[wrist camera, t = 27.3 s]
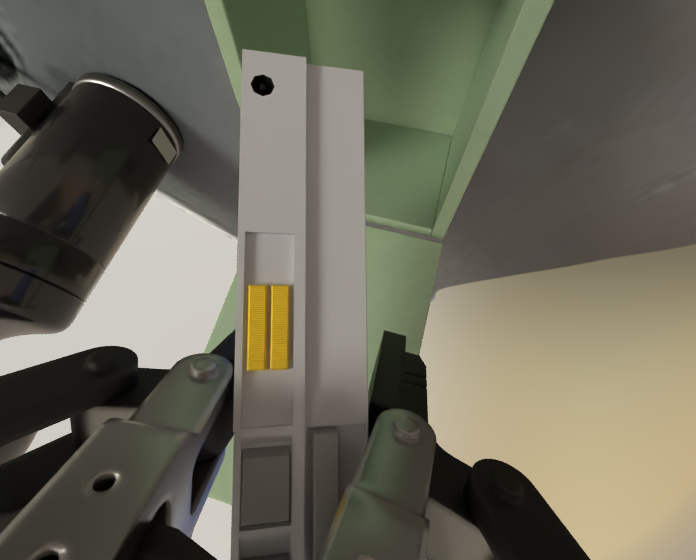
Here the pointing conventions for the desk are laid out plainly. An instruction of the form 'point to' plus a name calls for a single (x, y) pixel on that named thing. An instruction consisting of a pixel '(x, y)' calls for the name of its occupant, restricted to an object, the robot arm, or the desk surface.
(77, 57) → the desk surface
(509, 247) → the desk surface
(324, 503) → the walkman
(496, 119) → the bin
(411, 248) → the lid
